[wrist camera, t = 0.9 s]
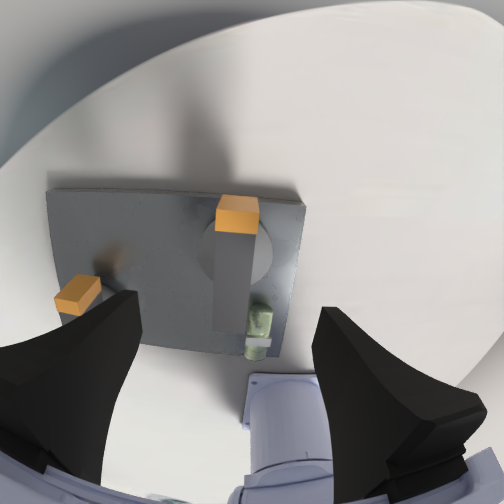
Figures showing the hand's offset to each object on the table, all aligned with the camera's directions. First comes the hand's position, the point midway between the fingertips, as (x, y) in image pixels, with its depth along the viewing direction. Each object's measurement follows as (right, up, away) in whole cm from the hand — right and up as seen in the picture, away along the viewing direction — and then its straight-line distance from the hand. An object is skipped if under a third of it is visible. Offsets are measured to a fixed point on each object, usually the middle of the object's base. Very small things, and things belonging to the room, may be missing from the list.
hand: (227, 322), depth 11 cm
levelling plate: (-5, +1, +9) cm, 11 cm away
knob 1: (-11, -2, +9) cm, 14 cm away
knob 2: (0, +3, +7) cm, 8 cm away
